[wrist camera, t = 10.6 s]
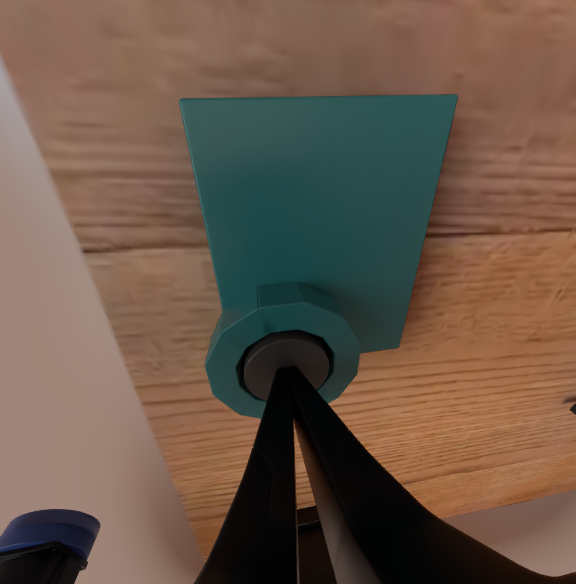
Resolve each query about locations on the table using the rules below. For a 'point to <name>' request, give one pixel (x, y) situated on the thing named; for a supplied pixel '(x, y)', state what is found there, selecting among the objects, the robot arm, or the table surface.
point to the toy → (573, 409)
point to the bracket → (313, 550)
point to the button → (284, 359)
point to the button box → (313, 221)
